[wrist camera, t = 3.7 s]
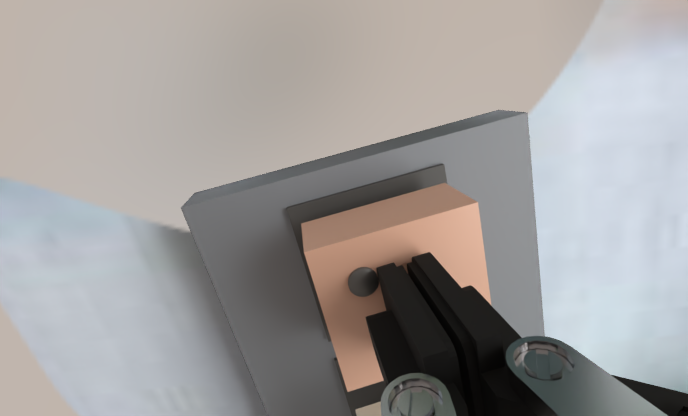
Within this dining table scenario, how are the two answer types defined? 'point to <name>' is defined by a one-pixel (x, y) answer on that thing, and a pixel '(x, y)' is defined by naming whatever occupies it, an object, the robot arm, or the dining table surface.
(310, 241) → the key three
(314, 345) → the keypad board
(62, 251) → the dining table surface
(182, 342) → the dining table surface
